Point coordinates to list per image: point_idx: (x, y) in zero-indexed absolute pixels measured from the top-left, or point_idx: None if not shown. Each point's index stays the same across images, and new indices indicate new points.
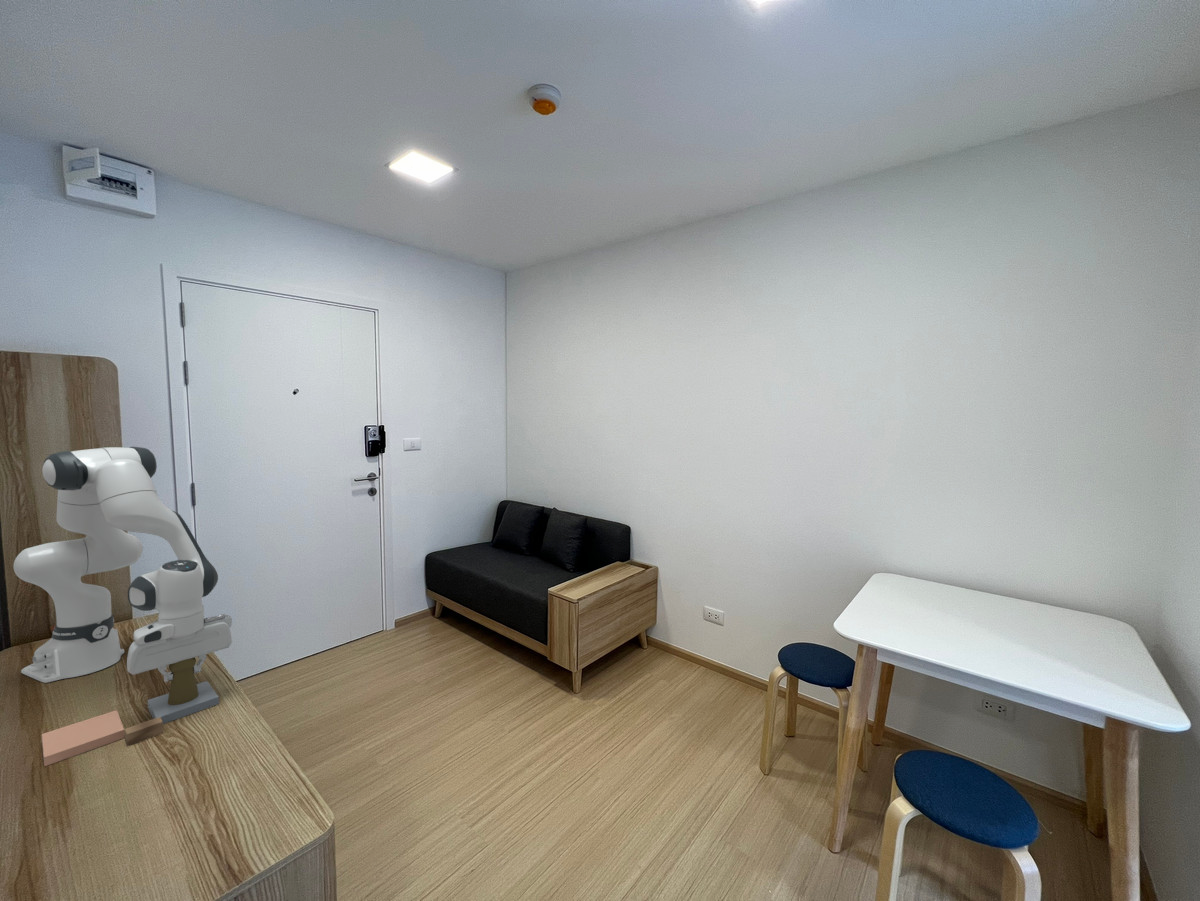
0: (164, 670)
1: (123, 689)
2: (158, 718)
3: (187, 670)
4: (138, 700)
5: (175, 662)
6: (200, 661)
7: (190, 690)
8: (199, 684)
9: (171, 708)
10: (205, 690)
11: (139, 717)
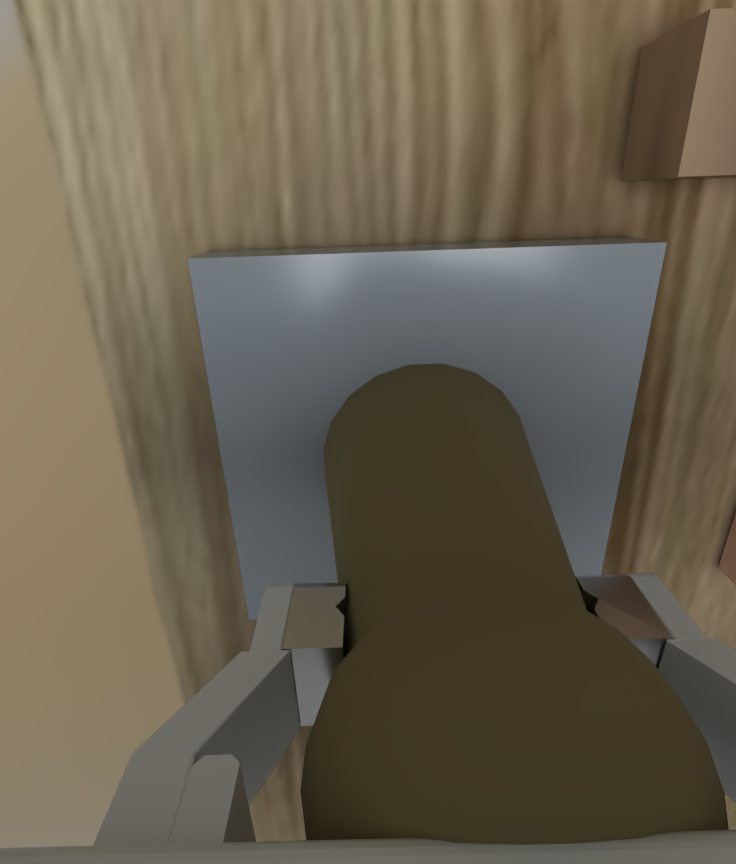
0: (728, 754)
1: None
2: (701, 145)
3: (445, 593)
4: None
5: (730, 837)
6: (240, 720)
7: (394, 417)
8: None
9: (532, 343)
10: (273, 476)
11: (645, 478)
